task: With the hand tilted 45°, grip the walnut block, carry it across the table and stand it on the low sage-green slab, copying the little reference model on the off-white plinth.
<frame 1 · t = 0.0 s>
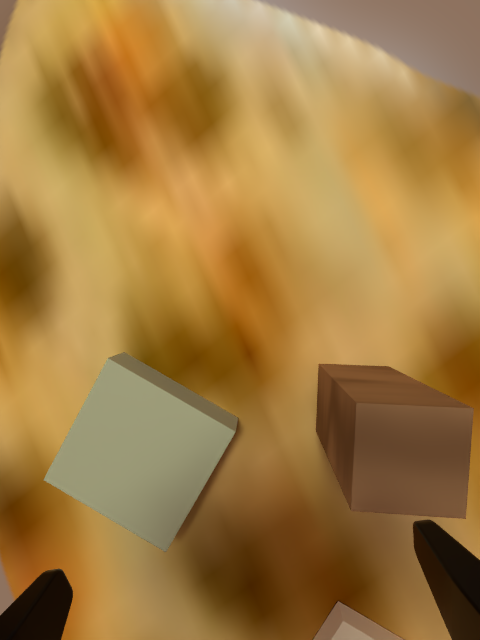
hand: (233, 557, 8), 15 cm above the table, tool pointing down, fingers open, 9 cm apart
sage slab: (152, 437, 24), on the table
walnut block: (351, 398, 23), on the table
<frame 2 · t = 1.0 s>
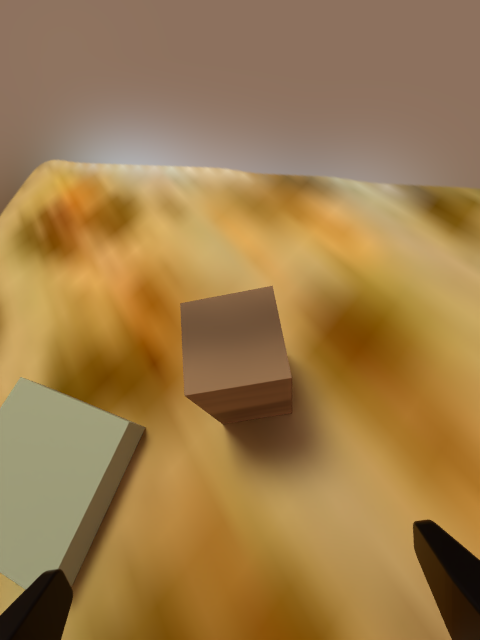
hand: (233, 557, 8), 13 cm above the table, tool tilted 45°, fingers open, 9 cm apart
sage slab: (60, 471, 23), on the table
walnut block: (251, 384, 23), on the table
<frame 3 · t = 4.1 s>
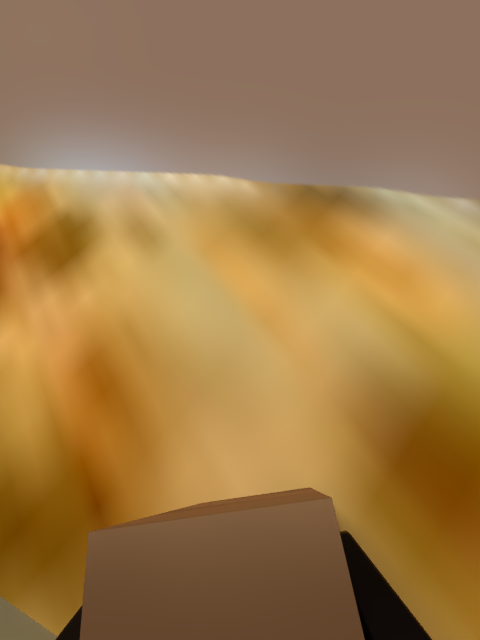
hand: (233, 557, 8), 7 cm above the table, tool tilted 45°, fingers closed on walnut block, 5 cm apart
walnut block: (264, 563, 13), on the table, touching gripper
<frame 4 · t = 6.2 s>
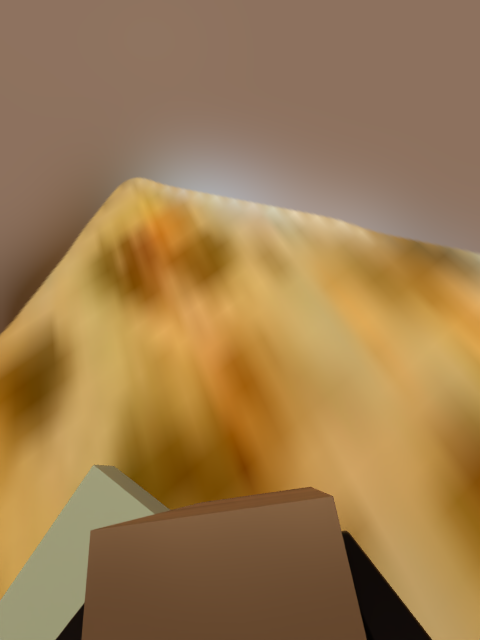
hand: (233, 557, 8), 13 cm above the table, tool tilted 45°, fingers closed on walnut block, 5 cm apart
sage slab: (123, 587, 19), on the table
walnut block: (264, 562, 13), point 7 cm above the table, touching gripper
when the fingers open (11 cm above the table, at t = 8.2 s): walnut block drops 2 cm, point 3 cm above the table.
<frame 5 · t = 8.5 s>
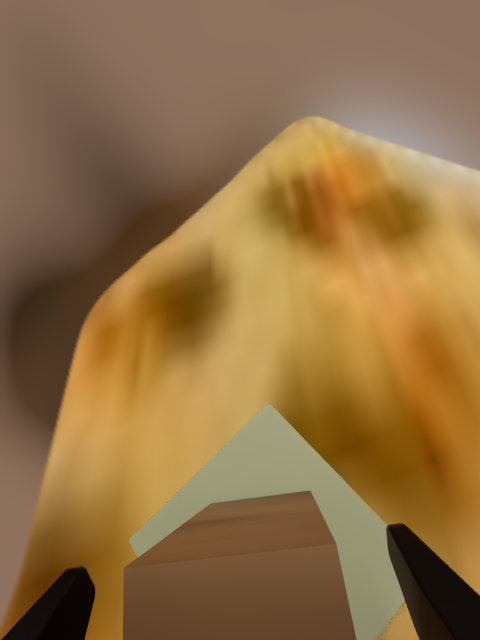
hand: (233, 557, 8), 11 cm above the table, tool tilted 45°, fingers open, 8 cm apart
sage slab: (271, 541, 17), on the table
walnut block: (268, 557, 14), point 3 cm above the table, tilted 5°
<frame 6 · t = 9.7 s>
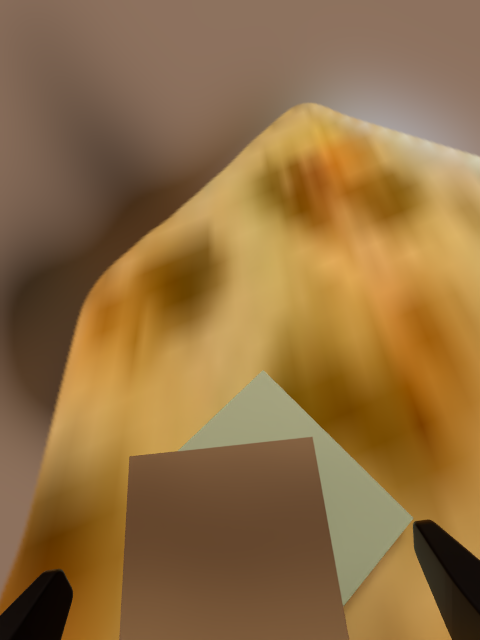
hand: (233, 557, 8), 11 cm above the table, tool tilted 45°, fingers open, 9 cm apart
sage slab: (265, 503, 18), on the table
walnut block: (259, 509, 15), point 3 cm above the table
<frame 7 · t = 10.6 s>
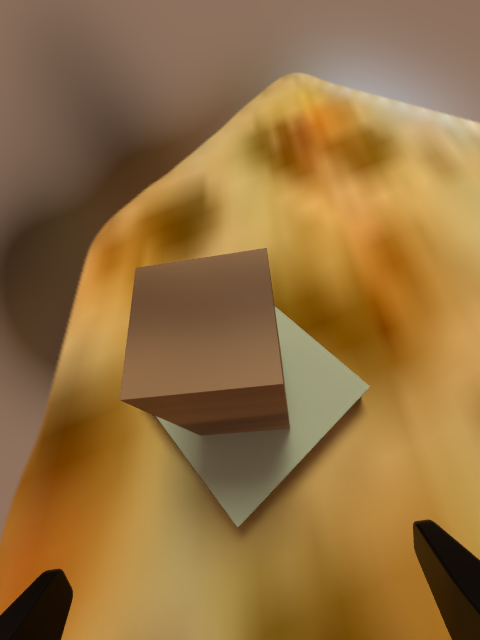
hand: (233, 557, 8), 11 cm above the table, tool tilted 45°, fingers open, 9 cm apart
sage slab: (250, 396, 21), on the table, touching walnut block
walnut block: (241, 387, 18), point 2 cm above the table, touching sage slab
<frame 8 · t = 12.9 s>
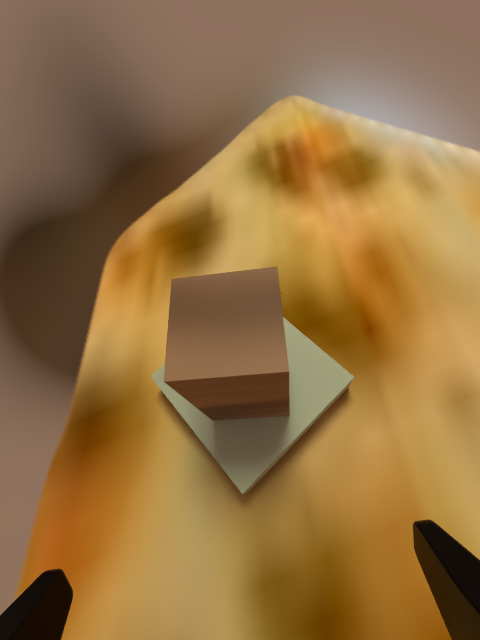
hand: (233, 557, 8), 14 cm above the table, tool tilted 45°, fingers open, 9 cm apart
sage slab: (252, 388, 24), on the table
walnut block: (248, 380, 21), point 2 cm above the table
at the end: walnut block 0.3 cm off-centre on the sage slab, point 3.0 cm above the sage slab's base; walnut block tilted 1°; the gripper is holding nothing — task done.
